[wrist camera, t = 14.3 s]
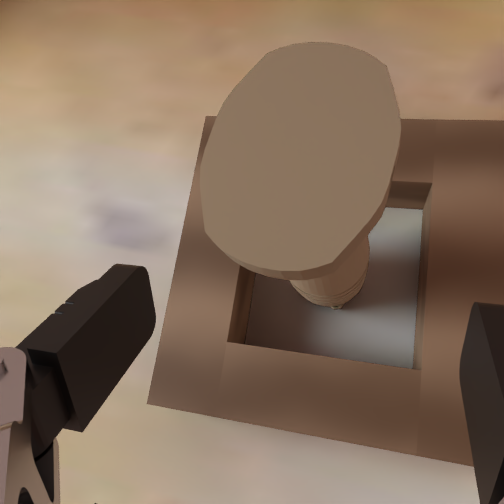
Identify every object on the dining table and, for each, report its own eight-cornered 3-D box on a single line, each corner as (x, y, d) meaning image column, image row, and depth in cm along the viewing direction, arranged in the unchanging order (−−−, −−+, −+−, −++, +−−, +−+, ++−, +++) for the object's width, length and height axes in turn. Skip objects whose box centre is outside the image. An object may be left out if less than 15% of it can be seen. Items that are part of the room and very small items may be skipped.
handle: (275, 325, 25) (169, 244, 12) (306, 220, 27) (246, 34, 13) (360, 350, 24) (360, 293, 10) (389, 238, 25) (423, 51, 11)
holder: (222, 146, 30) (206, 116, 26) (492, 155, 26) (512, 120, 22) (173, 402, 25) (146, 403, 22) (485, 460, 21) (508, 473, 18)
